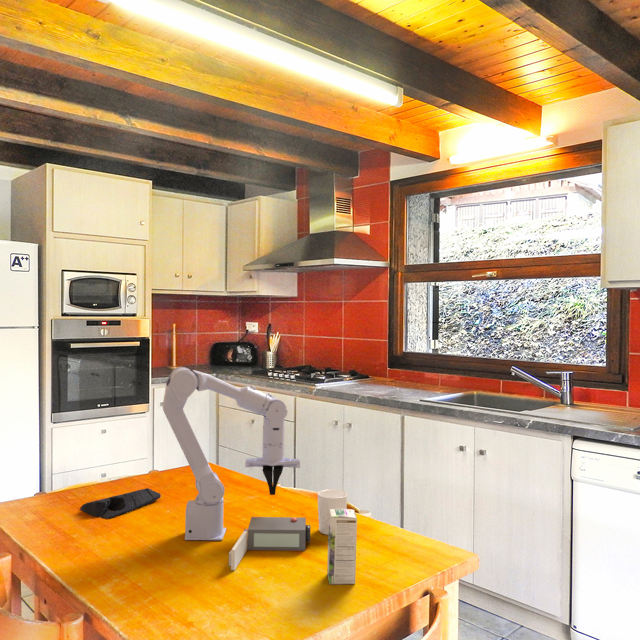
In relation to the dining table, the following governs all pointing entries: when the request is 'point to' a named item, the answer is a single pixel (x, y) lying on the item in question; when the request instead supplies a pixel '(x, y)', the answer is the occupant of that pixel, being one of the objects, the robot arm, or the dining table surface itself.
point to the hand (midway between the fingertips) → (272, 493)
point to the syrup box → (342, 546)
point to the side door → (238, 550)
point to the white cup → (329, 506)
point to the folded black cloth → (120, 503)
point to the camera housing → (278, 533)
